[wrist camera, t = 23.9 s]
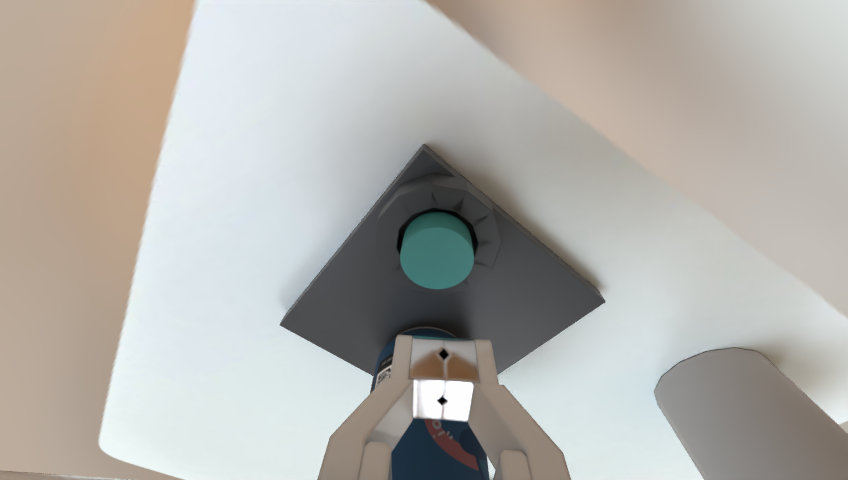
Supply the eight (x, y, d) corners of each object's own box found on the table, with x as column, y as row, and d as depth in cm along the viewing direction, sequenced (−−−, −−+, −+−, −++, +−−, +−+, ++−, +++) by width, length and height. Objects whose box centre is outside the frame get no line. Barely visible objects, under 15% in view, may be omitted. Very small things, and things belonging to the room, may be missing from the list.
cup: (755, 331, 23) (948, 501, 14) (786, 390, 26) (961, 561, 17) (637, 379, 26) (736, 543, 17) (676, 427, 29) (778, 589, 20)
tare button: (390, 245, 18) (385, 263, 16) (432, 197, 16) (432, 212, 15) (440, 280, 19) (440, 300, 17) (485, 239, 17) (490, 256, 16)
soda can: (493, 360, 24) (536, 600, 13) (422, 396, 26) (410, 623, 16) (432, 303, 21) (425, 543, 11) (359, 348, 24) (297, 580, 13)
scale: (285, 313, 24) (267, 345, 21) (427, 139, 17) (424, 155, 15) (441, 399, 28) (441, 435, 26) (601, 287, 22) (623, 320, 19)
